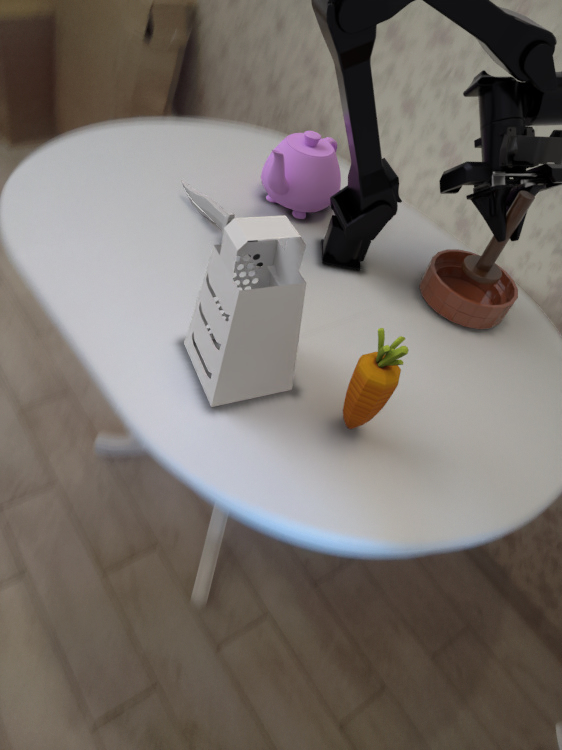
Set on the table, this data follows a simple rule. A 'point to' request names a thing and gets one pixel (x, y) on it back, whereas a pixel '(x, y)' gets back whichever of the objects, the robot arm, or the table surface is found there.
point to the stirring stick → (497, 244)
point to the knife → (212, 211)
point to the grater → (249, 312)
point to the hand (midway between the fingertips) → (508, 241)
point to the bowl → (465, 292)
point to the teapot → (302, 173)
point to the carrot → (373, 382)
